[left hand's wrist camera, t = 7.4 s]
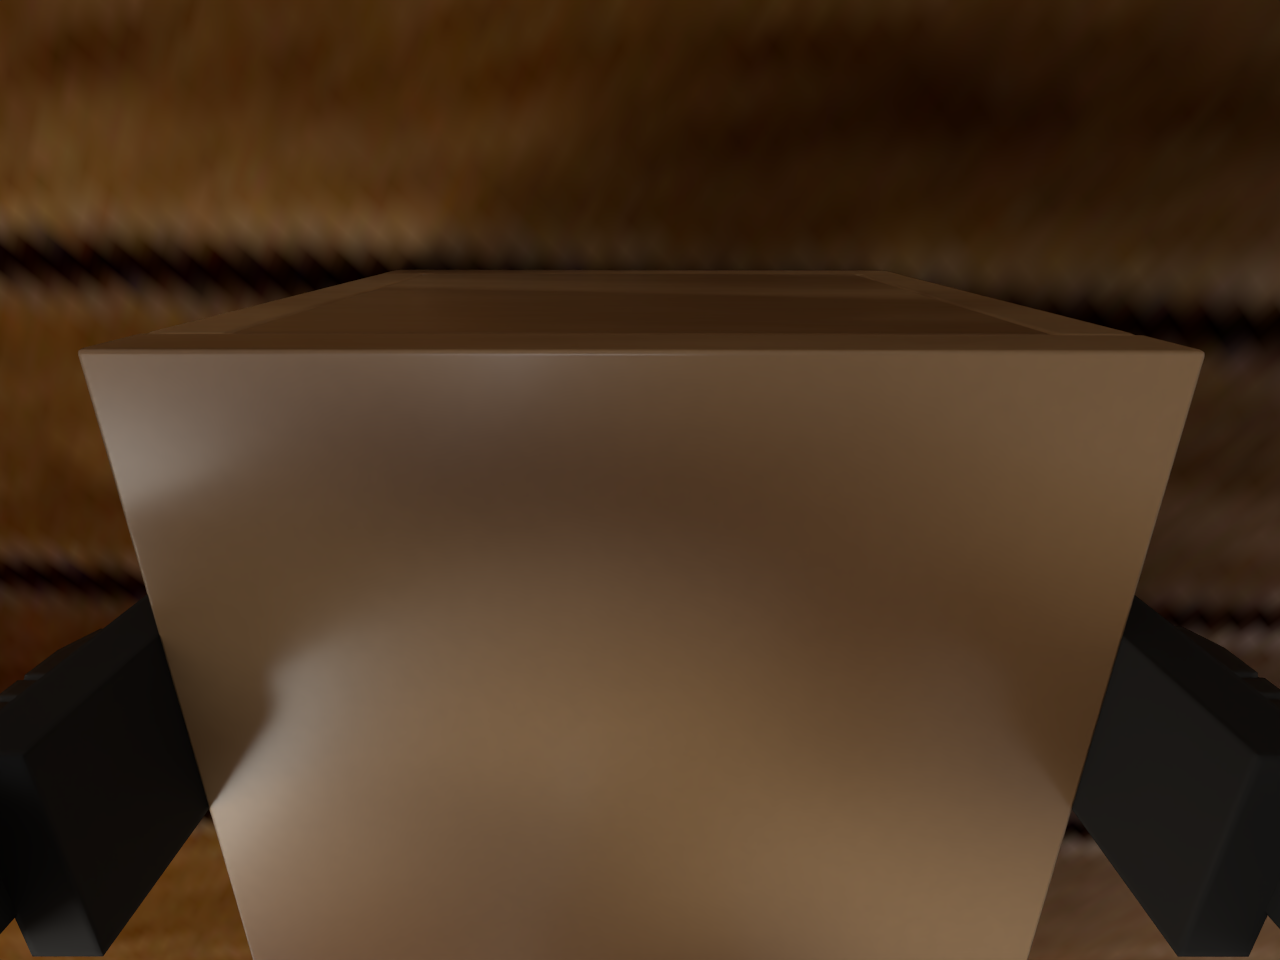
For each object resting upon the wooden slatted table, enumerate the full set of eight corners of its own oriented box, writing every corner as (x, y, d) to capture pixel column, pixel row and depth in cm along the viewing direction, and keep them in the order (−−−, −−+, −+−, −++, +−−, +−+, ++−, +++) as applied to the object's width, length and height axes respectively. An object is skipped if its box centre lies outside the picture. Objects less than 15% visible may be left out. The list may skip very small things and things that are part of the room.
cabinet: (808, 902, 24) (915, 1346, 15) (471, 901, 24) (362, 1345, 15) (886, 270, 16) (1210, 351, 7) (395, 269, 16) (73, 349, 7)
